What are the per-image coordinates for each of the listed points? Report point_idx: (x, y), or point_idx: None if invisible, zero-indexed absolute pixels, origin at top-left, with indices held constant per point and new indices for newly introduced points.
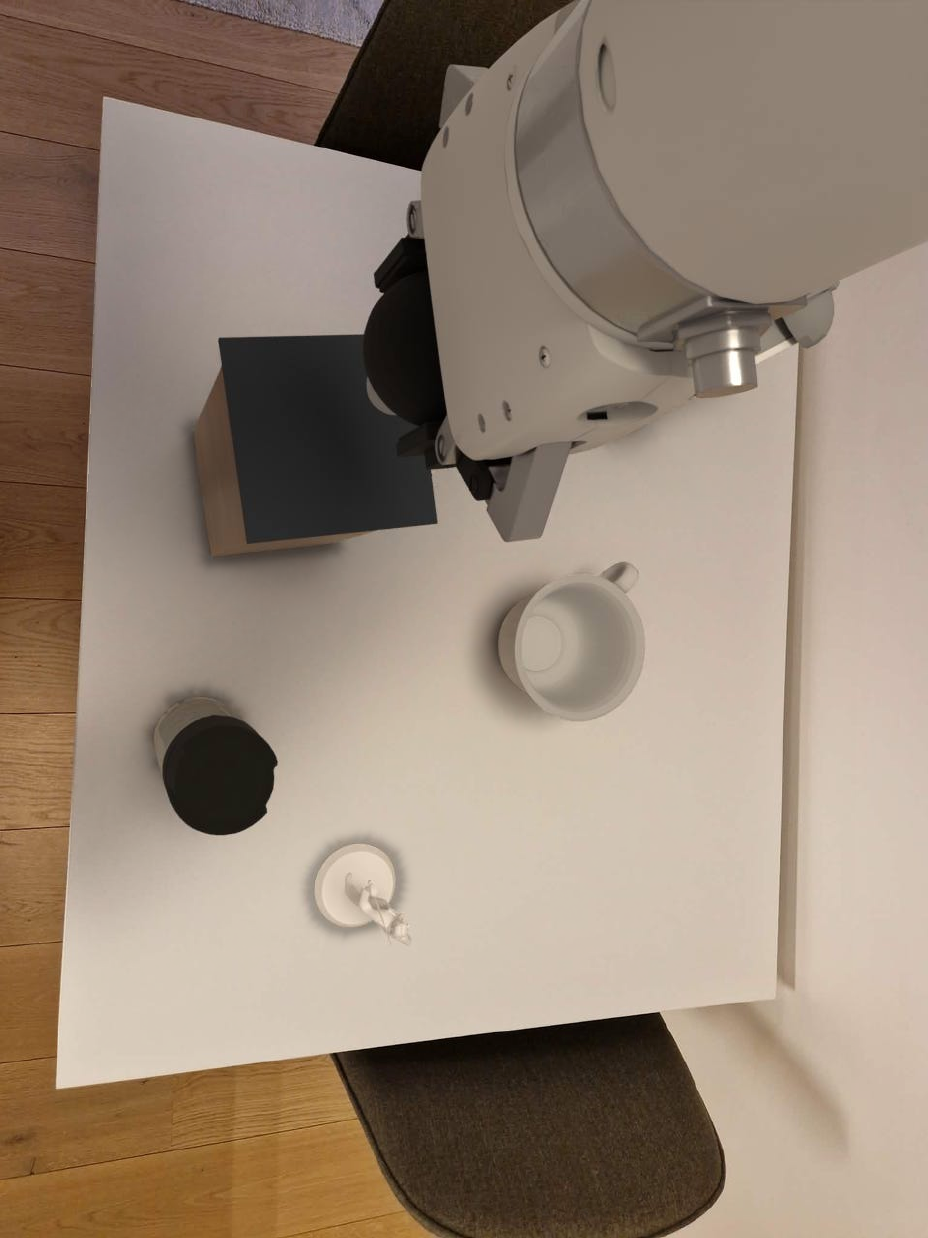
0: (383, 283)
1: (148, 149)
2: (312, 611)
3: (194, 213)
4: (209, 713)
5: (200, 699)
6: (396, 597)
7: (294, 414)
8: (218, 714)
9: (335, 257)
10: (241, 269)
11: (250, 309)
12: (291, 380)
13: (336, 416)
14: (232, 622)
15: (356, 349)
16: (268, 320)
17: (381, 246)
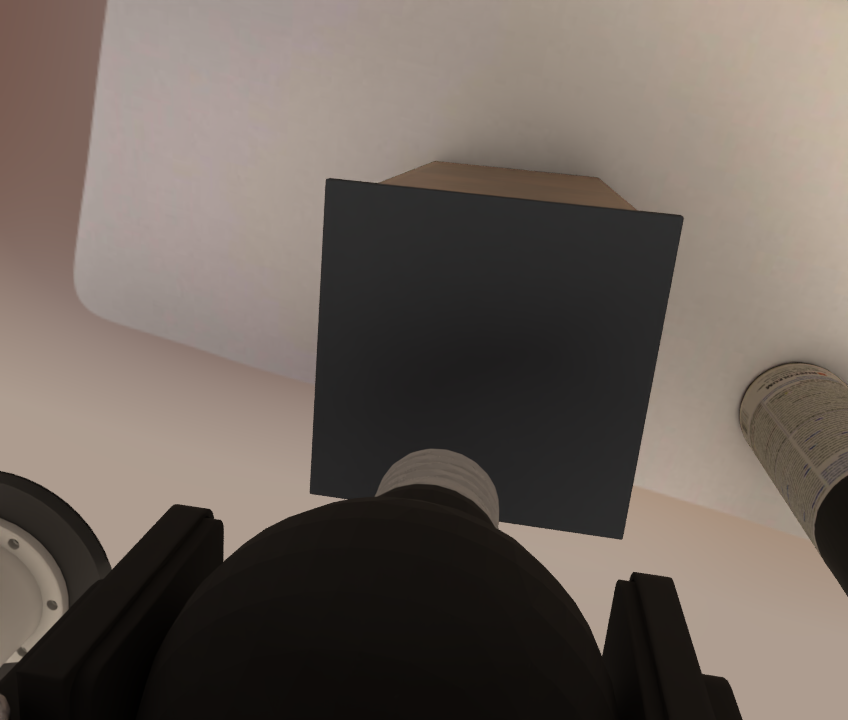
0: None
1: (104, 284)
2: (683, 228)
3: (171, 251)
4: (806, 496)
5: (753, 415)
6: (704, 99)
7: (437, 420)
8: (816, 495)
9: (221, 81)
10: (234, 212)
11: (282, 213)
12: (383, 411)
13: (451, 354)
14: (663, 333)
15: (345, 293)
16: (297, 193)
17: (206, 6)
